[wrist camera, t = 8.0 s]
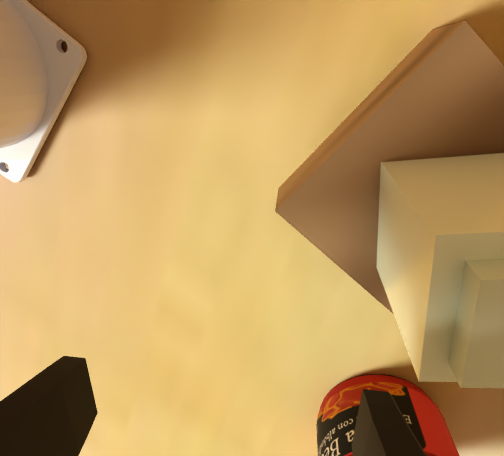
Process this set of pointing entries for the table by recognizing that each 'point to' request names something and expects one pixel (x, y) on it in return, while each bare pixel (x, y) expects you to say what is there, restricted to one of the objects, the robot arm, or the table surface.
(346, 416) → the canned food
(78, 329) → the table surface
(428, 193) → the cream cube with panel
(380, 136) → the walnut box
